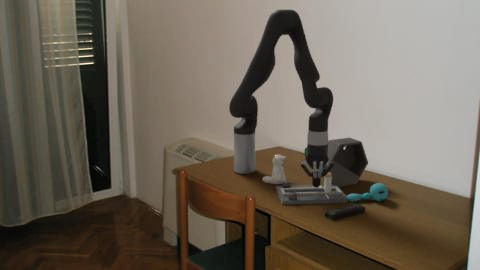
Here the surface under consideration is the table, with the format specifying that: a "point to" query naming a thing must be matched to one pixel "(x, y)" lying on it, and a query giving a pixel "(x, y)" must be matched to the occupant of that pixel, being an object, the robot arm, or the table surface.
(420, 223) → the table surface
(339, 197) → the console board
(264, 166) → the table surface
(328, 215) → the multiport hub
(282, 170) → the sitting furry creature
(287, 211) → the table surface
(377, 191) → the toy
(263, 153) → the table surface
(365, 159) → the planter
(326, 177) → the fader tab
